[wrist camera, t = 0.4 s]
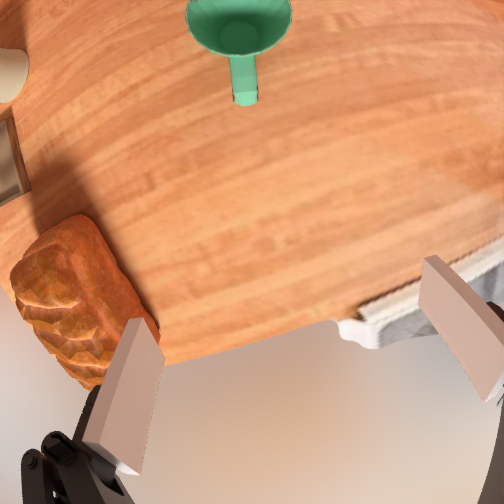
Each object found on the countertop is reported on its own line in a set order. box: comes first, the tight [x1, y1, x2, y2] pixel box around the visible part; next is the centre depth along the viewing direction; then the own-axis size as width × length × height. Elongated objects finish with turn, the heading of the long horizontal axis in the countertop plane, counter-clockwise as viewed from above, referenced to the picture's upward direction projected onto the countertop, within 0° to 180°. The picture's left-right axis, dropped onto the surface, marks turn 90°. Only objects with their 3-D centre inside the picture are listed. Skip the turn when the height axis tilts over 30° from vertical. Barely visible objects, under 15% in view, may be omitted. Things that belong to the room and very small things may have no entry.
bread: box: [10, 214, 160, 391], centre depth 37 cm, size 14×26×16 cm, turn 19°
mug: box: [185, 0, 292, 106], centre depth 25 cm, size 15×10×10 cm
